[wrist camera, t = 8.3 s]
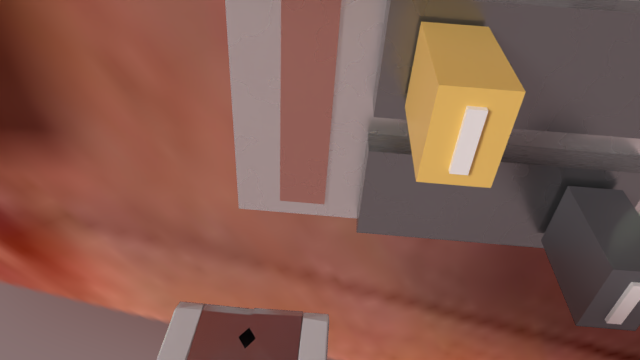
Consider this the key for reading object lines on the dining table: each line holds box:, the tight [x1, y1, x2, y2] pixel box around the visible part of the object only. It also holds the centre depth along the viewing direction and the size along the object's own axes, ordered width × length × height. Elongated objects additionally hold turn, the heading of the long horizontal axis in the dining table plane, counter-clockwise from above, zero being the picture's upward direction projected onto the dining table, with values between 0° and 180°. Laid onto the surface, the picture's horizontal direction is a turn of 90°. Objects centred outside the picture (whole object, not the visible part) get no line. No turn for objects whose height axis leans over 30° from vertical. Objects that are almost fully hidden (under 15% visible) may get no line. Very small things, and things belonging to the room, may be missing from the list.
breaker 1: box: [405, 22, 526, 188], centre depth 17 cm, size 4×2×5 cm
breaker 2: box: [541, 186, 640, 331], centre depth 21 cm, size 4×2×5 cm
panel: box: [225, 0, 640, 248], centre depth 20 cm, size 20×26×3 cm
